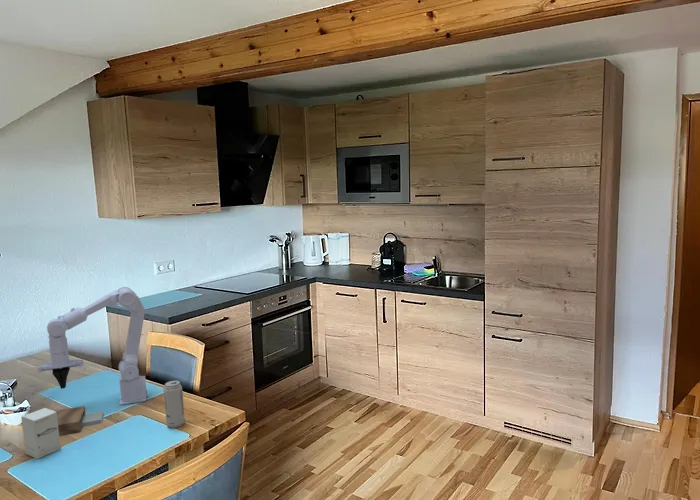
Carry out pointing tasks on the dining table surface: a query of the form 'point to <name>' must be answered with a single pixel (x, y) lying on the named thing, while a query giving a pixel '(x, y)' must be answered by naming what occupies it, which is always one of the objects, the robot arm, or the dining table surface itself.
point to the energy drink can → (174, 404)
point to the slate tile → (92, 419)
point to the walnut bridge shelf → (70, 420)
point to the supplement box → (41, 432)
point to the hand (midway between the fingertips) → (63, 387)
